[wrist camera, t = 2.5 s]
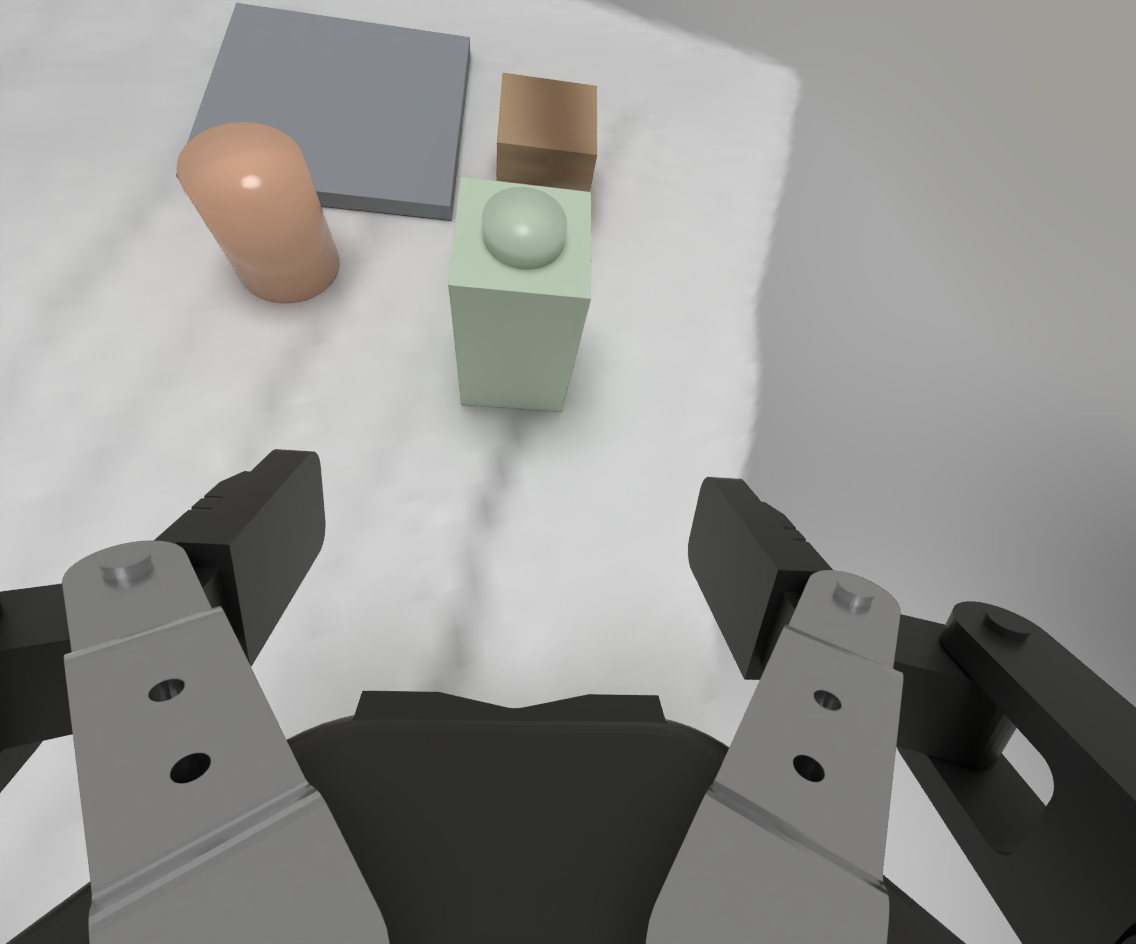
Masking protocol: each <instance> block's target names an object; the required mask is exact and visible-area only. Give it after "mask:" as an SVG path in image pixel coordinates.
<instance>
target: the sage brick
mask: <svg viewBox="0 0 1136 944" xmlns="http://www.w3.org/2000/svg"><path fill="white" fill-rule="evenodd" d="M449 295H450V304H451V313H452V323H453V332H454V341H455V351H456V360H457V369H458V379H459V388H460V397H461V405H475V406H489V407H503V408H517V409H530V410H544V411H558V412H561V411H562V407H563V403H564V400H565V396H566V392H567V388H568V384H569V381H570V377H571V373H572V369H573V365H574V362H575V358H576V354H577V350H578V346H579V343H580V339H581V335H582V331H583V327H584V324H585V320H586V316H587V312H588V308H589V305H590V301H591V192H585V191H577V190H568V189H560V188H551V187H543V186H535V185H526V184H518V183H509V182H501V181H493V180H484V179H476V178H467V177H460V185H459V194H458V203H457V212H456V221H455V230H454V239H453V248H452V258H451V267H450V276H449Z"/></svg>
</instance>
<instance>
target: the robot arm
mask: <svg viewBox="0 0 1136 944" xmlns="http://www.w3.org/2000/svg"><path fill="white" fill-rule="evenodd" d="M324 536H325V511H324V500H323V488H322V476H321V466H320V460H319V457H318V455H317V453H316V452H312V451H296V450H280V449H275V450H273V451H272V452H271V453H270V454H268V455H267V456H266V457H265V458H264V459H263V460H262V461H261V462H260V463H259V464H258V465H257V466H256V467H255V468H254V469H253V470H252V471H251V472H248V471H244V472H241V473H239V474H237V475H235V476H232V477H230V478H228V479H226V480H223V481H221V482H219V483H218V484H217V485H216V486H215V487H214V488H213V489H211V490H210V491H209V492H208V493H207V494H206V495H205V496H204V499H200V500H199V501H198V502H197V503H196V504H194V505H193V506H192V509H191V510H188V511H187V512H185V513H184V514H183V515H182V516H181V517H180V518H179V519H178V520H176V521H175V522H174V523H173V524H172V525H171V526H170V527H169V528H167V529H166V530H165V531H164V532H163V533H162V534H161V535H159V536H158V537H157V538H156V539H155V540H154V541H138V542H130V543H125V544H120V545H116V546H113V547H109V548H106V549H103V550H100V551H98V552H95V553H93V554H91V555H89V556H87V557H85V558H83V559H81V560H80V561H78V562H77V563H75V564H74V565H73V566H72V567H70V568H69V569H68V570H67V572H66V573H65V575H64V577H63V580H62V584H56V585H48V586H40V587H33V588H25V589H18V590H10V591H2V592H0V793H1V791H2V790H3V789H4V788H5V787H6V785H7V784H8V783H9V782H10V781H11V779H12V778H13V777H14V776H15V775H16V773H17V772H18V771H19V770H20V768H21V767H22V766H23V765H24V764H25V762H26V761H27V760H28V759H29V758H30V756H31V755H32V754H33V753H34V752H35V750H36V749H37V748H38V747H39V745H40V744H41V743H42V741H44V740H49V739H53V738H58V737H62V736H67V735H71V734H73V740H74V748H75V756H76V764H77V773H78V781H79V789H80V798H81V806H82V814H83V822H84V831H85V839H86V847H87V856H88V864H89V872H90V880H91V881H90V882H89V883H87V884H86V885H85V886H83V887H82V888H81V889H79V890H78V891H77V892H75V893H74V894H72V895H71V896H70V897H68V898H67V899H66V900H64V901H63V902H62V903H60V904H59V905H58V906H56V907H55V908H53V909H52V910H51V911H49V912H48V913H47V914H45V915H44V916H43V917H41V918H40V919H39V920H37V921H36V922H34V923H33V924H32V925H30V926H29V927H28V928H26V929H25V930H24V931H22V932H21V933H20V934H18V935H17V936H16V937H14V938H13V939H11V940H10V941H9V942H7V943H6V944H965V943H964V942H963V941H962V940H960V939H959V938H958V937H957V936H956V935H955V934H953V933H952V932H951V931H950V930H949V929H947V928H946V927H945V926H944V925H943V924H942V923H940V922H939V921H938V920H937V919H936V918H934V917H933V916H932V915H931V914H929V913H928V912H927V911H926V910H925V909H924V908H922V907H921V906H920V905H919V904H917V903H916V902H915V901H914V900H913V899H911V898H910V897H909V896H908V895H907V894H906V893H904V892H903V891H902V890H901V889H899V888H898V887H897V886H896V885H895V884H893V883H892V882H891V881H890V880H889V879H888V878H886V877H885V876H884V875H883V865H884V856H885V846H886V837H887V828H888V819H889V809H890V799H891V790H892V781H893V771H894V762H895V752H896V747H897V749H898V751H899V753H900V754H901V756H902V757H903V759H904V760H905V762H906V763H907V765H908V767H909V768H910V770H911V771H912V773H913V774H914V776H915V778H916V779H917V780H918V782H919V784H920V785H921V787H922V788H923V790H924V792H925V793H926V795H927V796H928V798H929V799H930V801H931V802H932V804H933V806H934V807H935V809H936V810H937V811H938V813H939V815H940V816H941V818H942V819H943V821H944V823H945V824H946V826H947V827H948V829H949V830H950V832H951V834H952V835H953V836H954V838H955V840H956V841H957V843H958V844H959V846H960V847H961V849H962V850H963V852H964V854H965V855H966V857H967V858H968V860H969V862H970V863H971V865H972V866H973V868H974V869H975V871H976V872H977V874H978V876H979V877H980V878H981V880H982V882H983V883H984V885H985V887H986V888H987V890H988V891H989V893H990V894H991V896H992V897H993V899H994V900H995V902H996V903H997V905H998V907H999V908H1000V910H1001V911H1002V913H1003V914H1004V916H1005V918H1006V919H1007V921H1008V922H1009V924H1010V925H1011V927H1012V929H1013V930H1014V931H1015V933H1016V935H1017V936H1018V938H1019V939H1020V941H1021V942H1022V944H1136V707H1134V706H1133V705H1132V704H1131V703H1130V702H1128V701H1127V700H1126V699H1125V698H1124V697H1122V696H1121V695H1120V694H1119V693H1118V692H1117V691H1115V690H1114V689H1113V688H1112V687H1111V686H1109V685H1108V684H1107V683H1106V682H1105V681H1103V680H1102V679H1101V678H1100V677H1099V676H1098V675H1096V674H1095V673H1094V672H1093V671H1092V670H1091V669H1089V668H1088V667H1087V666H1086V665H1085V664H1083V663H1082V662H1081V661H1080V660H1079V659H1077V658H1076V657H1075V656H1074V655H1073V654H1071V653H1070V652H1069V651H1068V650H1067V649H1065V648H1064V647H1063V646H1062V645H1061V644H1060V643H1058V642H1057V641H1056V640H1055V639H1054V638H1053V637H1051V636H1050V635H1049V634H1048V633H1047V632H1045V631H1044V630H1043V629H1041V628H1040V627H1039V626H1037V625H1035V624H1034V623H1032V622H1031V621H1029V620H1027V619H1025V618H1024V617H1021V616H1019V615H1017V614H1016V613H1013V612H1010V611H1008V610H1006V609H1003V608H1000V607H997V606H994V605H990V604H986V603H981V602H968V601H967V602H961V603H958V604H956V605H955V606H954V608H953V610H952V612H951V614H950V616H949V618H948V620H947V623H946V625H944V624H939V623H936V622H931V621H927V620H923V619H918V618H914V617H910V616H906V615H902V614H900V613H901V612H900V606H899V604H898V602H897V601H896V599H895V598H894V597H893V596H892V595H891V594H890V593H889V592H887V591H886V590H885V589H883V588H881V587H880V586H879V585H877V584H875V583H874V582H872V581H869V580H867V579H865V578H863V577H860V576H857V575H854V574H851V573H846V572H842V571H835V570H833V569H832V568H831V567H830V566H829V565H828V564H827V563H826V562H825V560H824V559H823V558H822V557H821V556H820V555H819V553H818V552H817V551H816V550H815V549H814V548H813V547H812V546H811V544H810V543H809V542H806V539H805V538H804V536H802V534H801V533H800V532H799V531H797V530H796V528H795V526H794V525H793V524H792V523H791V522H790V521H789V520H788V518H787V517H786V516H785V515H784V514H783V513H781V512H779V511H778V510H776V509H775V508H773V507H771V506H770V505H768V504H767V503H765V502H761V501H760V500H759V498H758V497H757V496H756V495H755V494H754V492H753V491H752V490H751V489H750V488H749V486H748V485H747V484H746V483H745V482H744V481H743V480H742V479H733V478H717V477H707V478H705V479H704V481H703V483H702V485H701V488H700V493H699V497H698V502H697V506H696V511H695V515H694V520H693V524H692V528H691V533H690V537H689V543H688V559H689V564H690V568H691V570H692V572H693V574H694V576H695V578H696V580H697V582H698V585H699V587H700V589H701V591H702V593H703V595H704V597H705V599H706V601H707V603H708V605H709V607H710V609H711V611H712V613H713V616H714V618H715V620H716V622H717V624H718V626H719V628H720V630H721V632H722V634H723V636H724V638H725V640H726V642H727V644H728V647H729V649H730V651H731V653H732V655H733V657H734V659H735V661H736V663H737V665H738V667H739V669H740V671H741V673H742V676H743V677H744V679H747V680H760V681H759V683H758V686H757V688H756V690H755V692H754V694H753V697H752V699H751V701H750V703H749V706H748V708H747V710H746V712H745V714H744V717H743V719H742V721H741V723H740V726H739V728H738V730H737V732H736V734H735V737H734V739H733V741H732V743H731V746H730V748H729V747H728V746H726V745H725V744H723V743H722V742H720V741H718V740H716V739H715V738H713V737H711V736H709V735H707V734H706V733H703V732H701V731H699V730H697V729H694V728H692V727H690V726H687V725H684V724H681V723H678V722H675V721H671V720H667V719H665V717H664V714H663V710H662V707H661V703H660V700H659V696H658V695H597V694H588V695H583V696H578V697H573V698H568V699H563V700H558V701H553V702H549V703H544V704H539V705H534V706H529V707H524V708H507V707H502V706H498V705H494V704H489V703H485V702H480V701H476V700H472V699H467V698H463V697H458V696H454V695H450V694H445V693H441V692H409V691H362V694H361V697H360V700H359V703H358V706H357V709H356V712H355V715H354V716H349V717H344V718H340V719H337V720H333V721H330V722H327V723H323V724H321V725H318V726H316V727H313V728H311V729H308V730H306V731H303V732H301V733H299V734H297V735H295V736H293V737H291V738H289V739H287V740H286V738H285V736H284V734H283V732H282V730H281V728H280V726H279V724H278V722H277V720H276V718H275V716H274V714H273V711H272V709H271V707H270V705H269V703H268V701H267V699H266V697H265V695H264V693H263V691H262V689H261V687H260V685H259V683H258V681H257V679H256V677H255V674H254V672H253V670H252V668H251V666H252V665H253V663H254V661H255V660H256V658H257V656H258V655H259V653H260V651H261V650H262V648H263V646H264V645H265V643H266V641H267V640H268V638H269V636H270V635H271V633H272V631H273V630H274V628H275V626H276V624H277V623H278V621H279V619H280V618H281V616H282V614H283V613H284V611H285V609H286V608H287V606H288V604H289V603H290V601H291V599H292V598H293V596H294V594H295V593H296V591H297V589H298V588H299V586H300V584H301V583H302V581H303V579H304V578H305V576H306V574H307V573H308V571H309V569H310V568H311V566H312V564H313V562H314V561H315V559H316V557H317V556H318V554H319V552H320V550H321V548H322V545H323V541H324ZM1016 728H1018V729H1019V731H1020V732H1021V733H1022V734H1023V735H1024V736H1025V737H1026V738H1027V739H1028V741H1029V742H1030V743H1031V744H1032V745H1033V746H1034V747H1035V748H1036V749H1037V750H1038V752H1040V754H1041V755H1042V756H1043V758H1044V759H1045V760H1046V762H1047V764H1048V766H1049V768H1050V770H1051V773H1052V776H1053V780H1054V792H1053V796H1052V798H1051V800H1050V802H1049V803H1048V804H1047V806H1045V805H1044V803H1043V802H1042V801H1041V800H1040V799H1039V797H1038V796H1037V795H1036V794H1035V793H1034V791H1033V790H1032V789H1031V788H1030V787H1029V786H1028V784H1027V783H1026V782H1025V781H1024V779H1023V778H1022V777H1021V776H1020V775H1019V774H1018V772H1017V771H1016V770H1015V769H1014V767H1013V766H1012V765H1011V764H1010V763H1009V761H1008V760H1007V759H1006V758H1005V757H1004V755H1003V754H1002V751H1003V750H1004V748H1005V746H1006V745H1007V743H1008V741H1009V740H1010V738H1011V736H1012V735H1013V733H1014V731H1015V730H1016Z"/></svg>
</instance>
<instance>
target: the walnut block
mask: <svg viewBox="0 0 1136 944" xmlns="http://www.w3.org/2000/svg"><path fill="white" fill-rule="evenodd" d="M596 158H597V86H593V85H586V84H579V83H572V82H565V81H558V80H550V79H543V78H536V77H529V76H522V75H515V74H508V73H503V75H502V87H501V99H500V111H499V124H498V136H497V181H501V182H509V183H518V184H526V185H535V186H543V187H551V188H560V189H568V190H577V191H585V192H590V188H591V183H592V178H593V173H594V168H595V163H596Z"/></svg>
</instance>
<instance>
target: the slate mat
mask: <svg viewBox="0 0 1136 944" xmlns="http://www.w3.org/2000/svg"><path fill="white" fill-rule="evenodd" d="M469 59H470V37H464V36H457V35H450V34H443V33H437V32H430V31H423V30H416V29H410V28H403V27H396V26H389V25H383V24H376V23H369V22H362V21H356V20H349V19H342V18H335V17H328V16H322V15H315V14H308V13H301V12H295V11H288V10H281V9H274V8H268V7H261V6H254V5H247V4H241V3H236V6H235V8H234V11H233V14H232V17H231V20H230V23H229V25H228V28H227V31H226V34H225V37H224V40H223V43H222V45H221V48H220V51H219V54H218V57H217V60H216V63H215V65H214V68H213V71H212V74H211V77H210V80H209V83H208V85H207V88H206V91H205V94H204V97H203V100H202V103H201V105H200V108H199V111H198V114H197V117H196V120H195V122H194V125H193V128H192V131H191V134H190V137H189V140H188V142H189V141H191V140H192V139H193V138H194V137H195V136H197V135H198V134H200V133H202V132H204V131H206V130H208V129H210V128H213V127H215V126H219V125H223V124H228V123H236V122H250V123H258V124H263V125H267V126H270V127H273V128H276V129H278V130H280V131H282V132H283V133H285V134H286V135H288V136H289V137H290V138H292V139H293V140H294V141H295V143H296V144H297V145H298V146H299V148H300V150H301V152H302V154H303V157H304V160H305V162H306V165H307V168H308V171H309V174H310V176H311V179H312V182H313V185H314V188H315V190H316V193H317V196H318V199H319V202H320V204H321V206H325V207H334V208H343V209H353V210H362V211H371V212H380V213H389V214H398V215H407V216H416V217H425V218H434V219H444V220H451V217H452V208H453V199H454V191H455V182H456V173H457V164H458V156H459V147H460V138H461V129H462V121H463V112H464V103H465V94H466V86H467V77H468V68H469ZM188 142H187V144H188ZM176 176H177V174H176ZM177 178H178V176H177ZM178 180H179V179H178Z"/></svg>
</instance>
